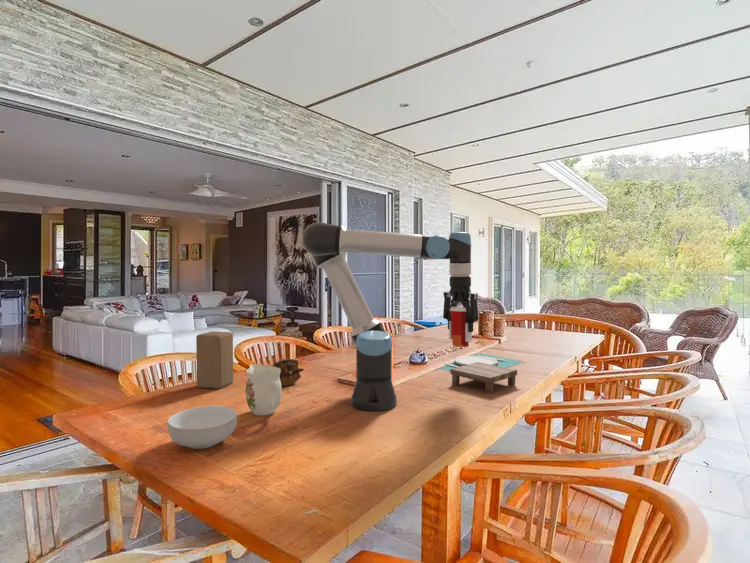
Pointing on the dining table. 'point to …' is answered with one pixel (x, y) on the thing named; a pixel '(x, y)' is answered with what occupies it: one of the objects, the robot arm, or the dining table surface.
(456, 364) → the place mat
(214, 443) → the cereal bowl
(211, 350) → the block
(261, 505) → the dining table surface
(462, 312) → the paper cup
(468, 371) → the walnut stand
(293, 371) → the wooden carving
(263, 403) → the pitcher
